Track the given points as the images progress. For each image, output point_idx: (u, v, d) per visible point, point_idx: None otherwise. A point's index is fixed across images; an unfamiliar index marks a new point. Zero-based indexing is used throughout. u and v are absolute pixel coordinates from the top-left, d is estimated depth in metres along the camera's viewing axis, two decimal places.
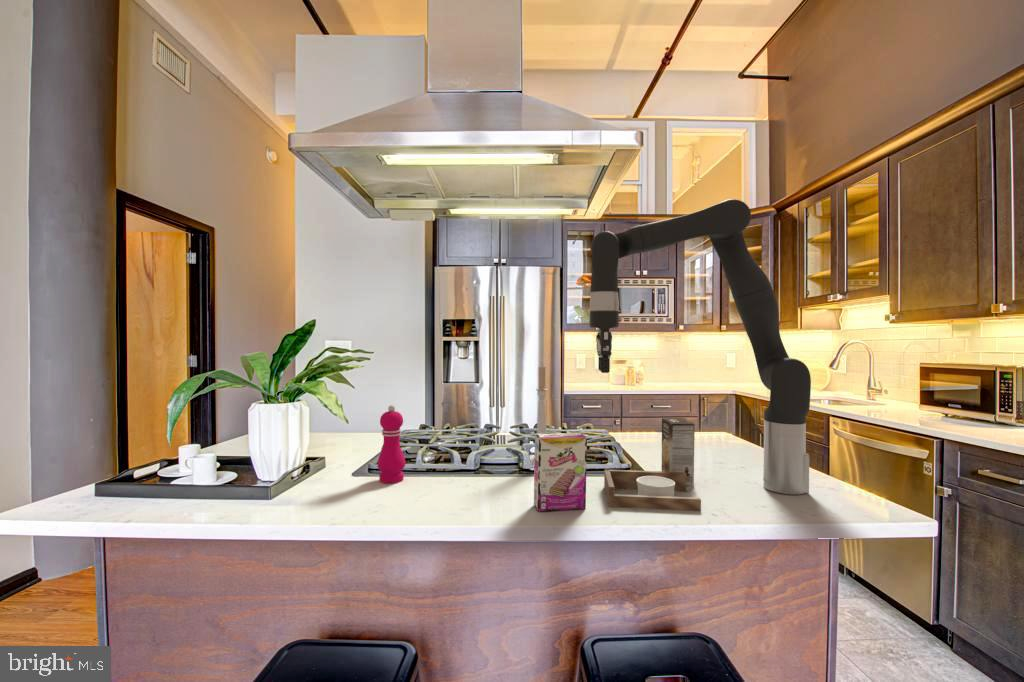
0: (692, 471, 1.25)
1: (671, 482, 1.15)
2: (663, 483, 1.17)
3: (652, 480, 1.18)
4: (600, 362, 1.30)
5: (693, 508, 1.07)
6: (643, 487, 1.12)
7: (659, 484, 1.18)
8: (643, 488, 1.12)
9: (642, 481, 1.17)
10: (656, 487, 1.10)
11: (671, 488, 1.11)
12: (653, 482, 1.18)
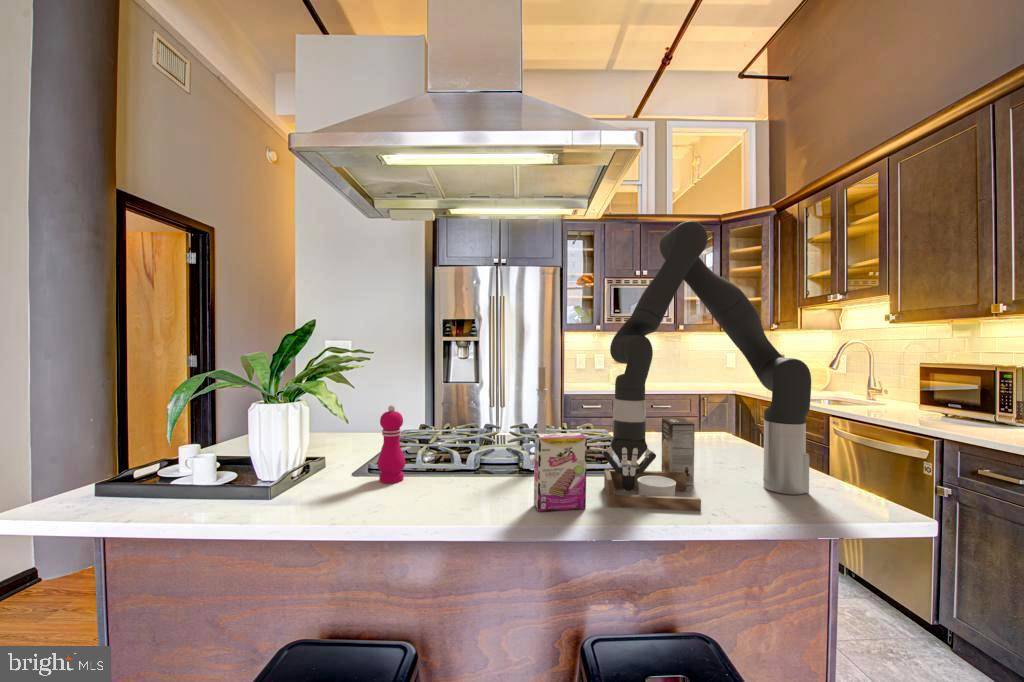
0: (692, 471, 1.25)
1: (672, 482, 1.15)
2: (664, 483, 1.17)
3: (652, 480, 1.18)
4: None
5: (693, 508, 1.07)
6: (644, 487, 1.12)
7: (660, 484, 1.18)
8: (644, 488, 1.12)
9: (643, 481, 1.17)
10: (657, 487, 1.10)
11: (672, 488, 1.11)
12: (653, 482, 1.18)
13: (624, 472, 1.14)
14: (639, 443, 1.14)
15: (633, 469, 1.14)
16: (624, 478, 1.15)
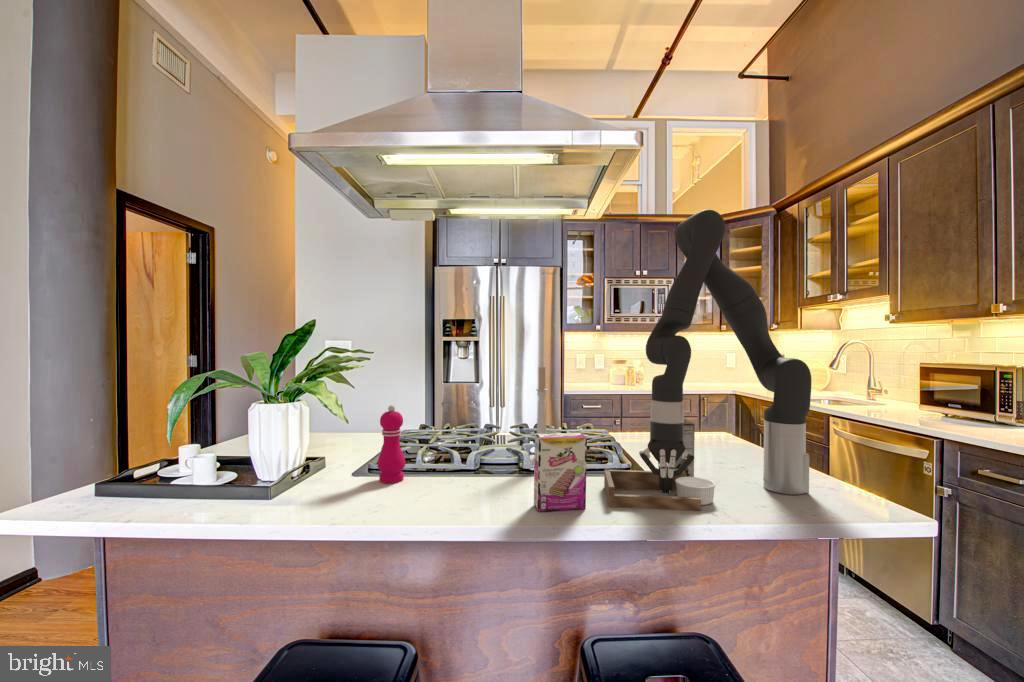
0: (692, 471, 1.25)
1: (711, 483, 1.14)
2: (702, 484, 1.16)
3: (690, 481, 1.17)
4: None
5: (693, 508, 1.07)
6: (683, 488, 1.11)
7: (698, 485, 1.17)
8: (683, 489, 1.11)
9: (680, 482, 1.16)
10: (697, 488, 1.09)
11: (712, 489, 1.10)
12: (691, 483, 1.17)
13: (662, 474, 1.13)
14: (677, 445, 1.13)
15: (671, 471, 1.13)
16: (662, 480, 1.14)
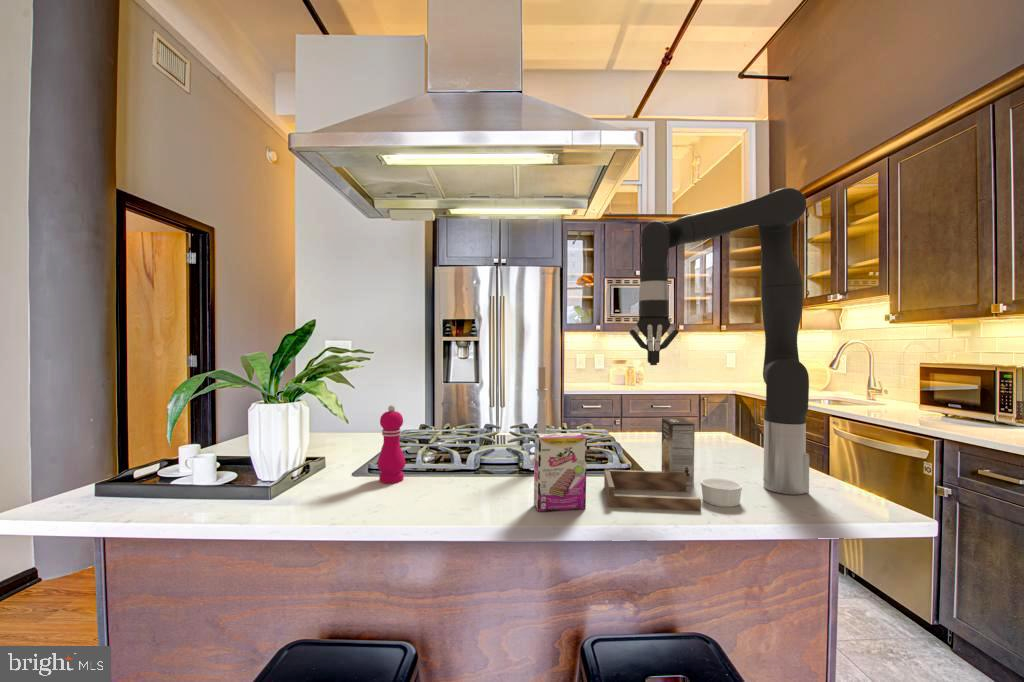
0: (692, 471, 1.25)
1: (737, 485, 1.13)
2: (728, 486, 1.15)
3: (715, 483, 1.16)
4: None
5: (693, 508, 1.07)
6: (709, 490, 1.10)
7: (723, 487, 1.16)
8: (709, 491, 1.10)
9: (706, 484, 1.16)
10: (723, 490, 1.08)
11: (738, 491, 1.09)
12: (717, 484, 1.16)
13: (650, 347, 1.26)
14: (663, 321, 1.26)
15: (658, 344, 1.26)
16: (650, 353, 1.27)
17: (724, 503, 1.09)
